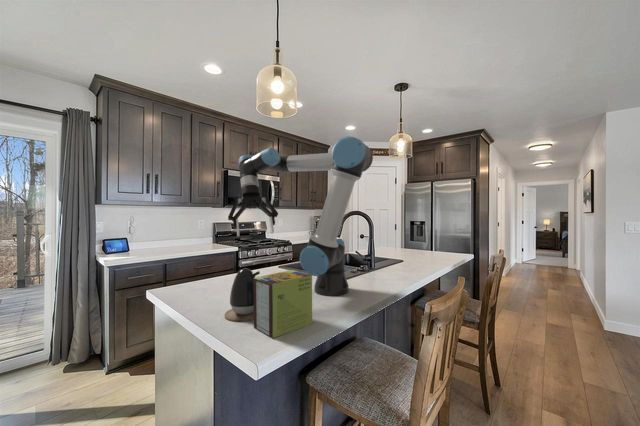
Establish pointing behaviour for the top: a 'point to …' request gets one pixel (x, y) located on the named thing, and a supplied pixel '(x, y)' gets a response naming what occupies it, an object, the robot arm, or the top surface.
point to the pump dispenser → (243, 292)
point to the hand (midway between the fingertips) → (255, 233)
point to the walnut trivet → (238, 316)
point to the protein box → (282, 302)
